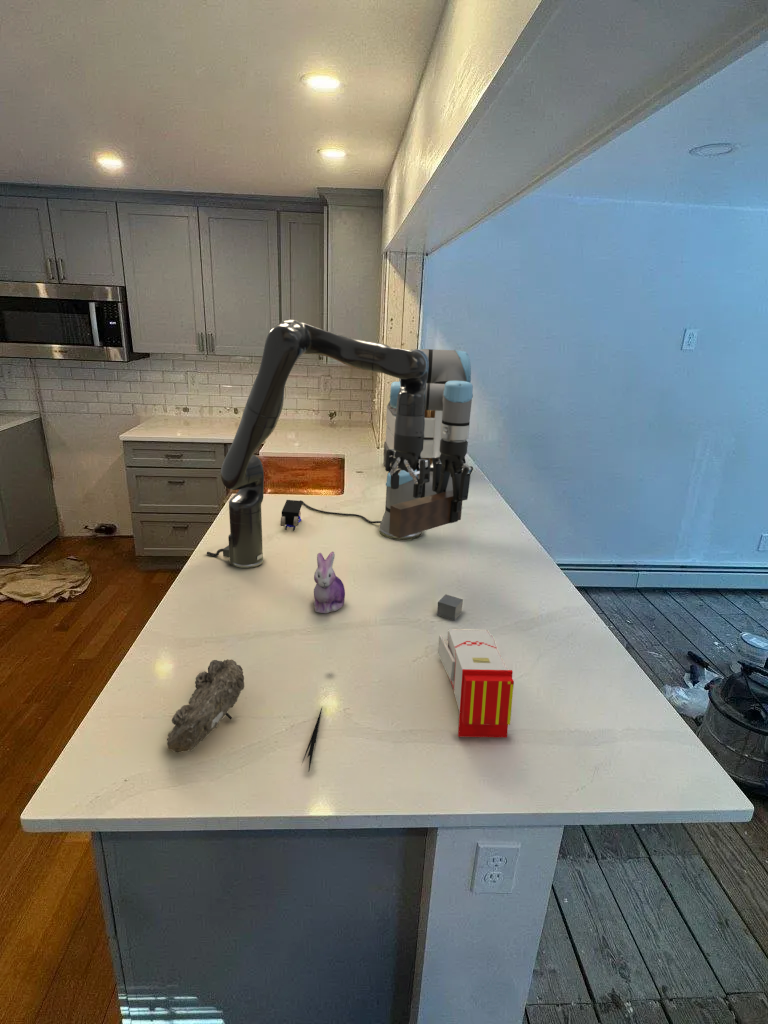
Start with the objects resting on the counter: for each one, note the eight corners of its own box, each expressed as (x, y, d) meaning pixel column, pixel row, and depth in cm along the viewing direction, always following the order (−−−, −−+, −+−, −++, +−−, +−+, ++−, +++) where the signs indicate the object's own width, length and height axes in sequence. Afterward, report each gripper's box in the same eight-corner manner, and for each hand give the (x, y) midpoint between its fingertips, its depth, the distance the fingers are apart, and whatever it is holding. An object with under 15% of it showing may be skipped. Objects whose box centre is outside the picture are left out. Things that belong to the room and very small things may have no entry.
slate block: (436, 615, 148) (437, 601, 146) (444, 607, 152) (445, 594, 151) (454, 620, 146) (455, 607, 144) (461, 612, 150) (463, 599, 148)
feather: (331, 679, 122) (336, 673, 122) (307, 777, 96) (313, 769, 95) (324, 675, 122) (329, 669, 121) (298, 772, 95) (304, 764, 95)
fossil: (192, 660, 117) (244, 628, 112) (224, 691, 120) (276, 661, 115) (142, 746, 98) (202, 712, 93) (182, 779, 101) (242, 748, 96)
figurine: (319, 618, 143) (319, 564, 138) (305, 600, 152) (304, 548, 147) (353, 610, 148) (354, 558, 143) (337, 593, 156) (338, 543, 151)
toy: (488, 613, 130) (523, 677, 101) (484, 667, 133) (517, 744, 104) (435, 612, 130) (455, 676, 101) (432, 666, 133) (451, 743, 103)
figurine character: (299, 536, 197) (303, 517, 210) (298, 517, 193) (303, 498, 207) (279, 536, 197) (285, 516, 210) (278, 516, 193) (285, 497, 207)
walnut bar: (399, 538, 148) (400, 509, 146) (389, 533, 151) (390, 505, 148) (460, 519, 163) (463, 493, 161) (450, 515, 166) (452, 489, 163)
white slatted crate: (382, 463, 289) (386, 382, 275) (445, 464, 293) (451, 384, 279) (390, 482, 257) (394, 392, 243) (460, 483, 261) (468, 394, 247)
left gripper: (379, 428, 145) (377, 488, 151) (418, 438, 135) (414, 503, 141) (401, 425, 150) (398, 484, 156) (440, 435, 140) (435, 497, 146)
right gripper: (422, 434, 158) (417, 513, 166) (468, 447, 146) (460, 531, 154) (441, 432, 163) (435, 508, 171) (487, 444, 151) (478, 525, 159)
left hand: (405, 493), depth 148 cm, fingers open, 8 cm apart
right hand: (447, 519), depth 162 cm, fingers closed on walnut bar, 4 cm apart
